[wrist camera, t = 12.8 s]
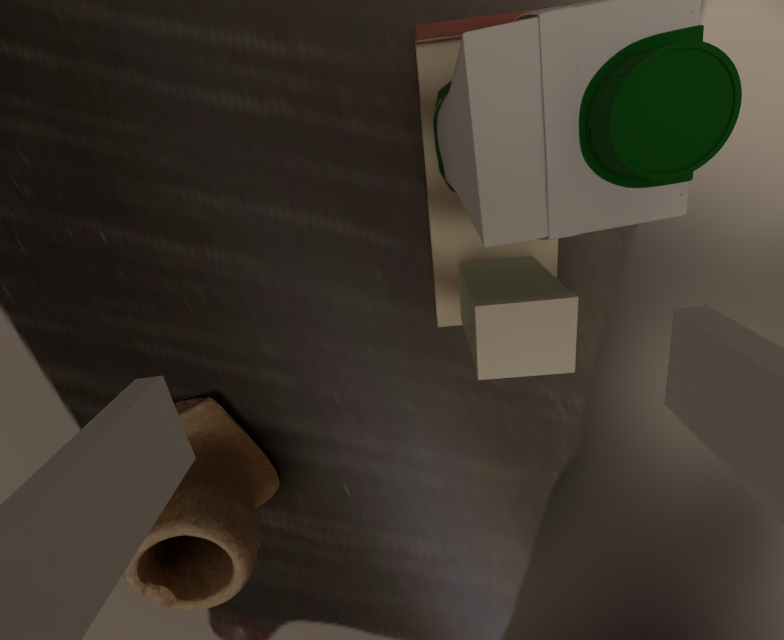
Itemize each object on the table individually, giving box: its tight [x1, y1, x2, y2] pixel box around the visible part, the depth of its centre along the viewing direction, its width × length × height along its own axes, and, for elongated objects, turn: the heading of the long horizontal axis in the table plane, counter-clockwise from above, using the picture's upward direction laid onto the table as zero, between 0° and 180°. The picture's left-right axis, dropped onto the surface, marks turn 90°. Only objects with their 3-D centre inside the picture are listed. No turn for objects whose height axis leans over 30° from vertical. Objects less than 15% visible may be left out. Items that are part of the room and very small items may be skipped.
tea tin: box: [458, 256, 578, 380], centre depth 32 cm, size 5×6×10 cm
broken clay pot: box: [123, 397, 279, 611], centre depth 40 cm, size 15×12×15 cm
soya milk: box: [433, 0, 742, 247], centre depth 23 cm, size 9×9×20 cm
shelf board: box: [415, 4, 570, 327], centre depth 34 cm, size 22×10×4 cm, turn 6°
